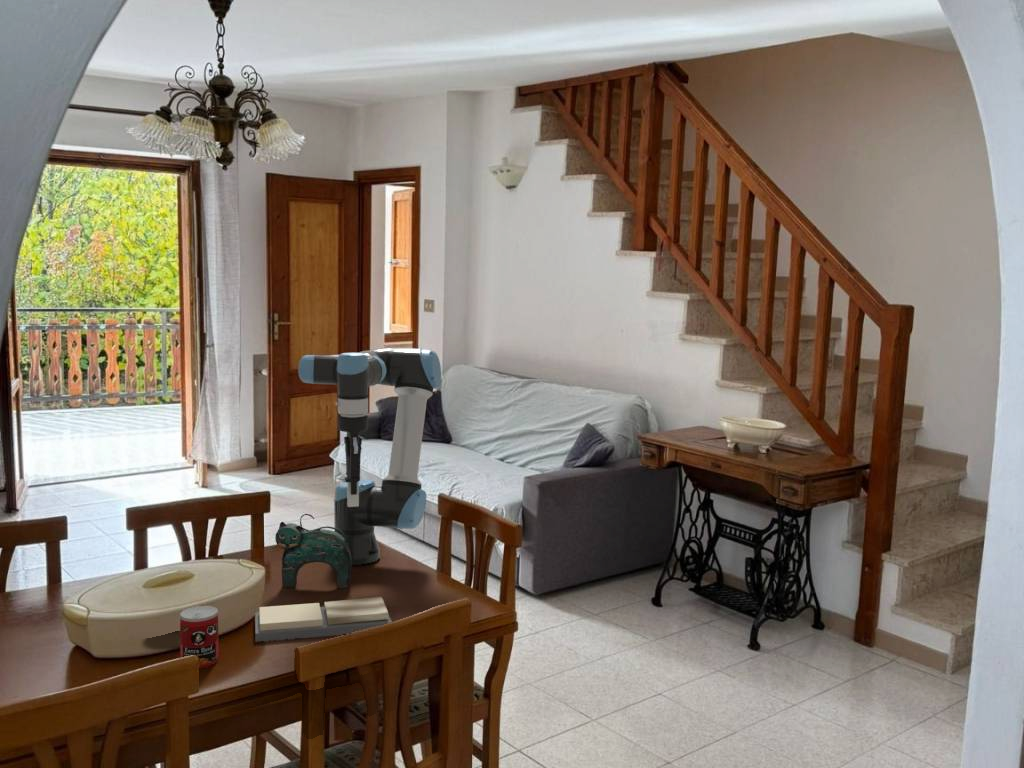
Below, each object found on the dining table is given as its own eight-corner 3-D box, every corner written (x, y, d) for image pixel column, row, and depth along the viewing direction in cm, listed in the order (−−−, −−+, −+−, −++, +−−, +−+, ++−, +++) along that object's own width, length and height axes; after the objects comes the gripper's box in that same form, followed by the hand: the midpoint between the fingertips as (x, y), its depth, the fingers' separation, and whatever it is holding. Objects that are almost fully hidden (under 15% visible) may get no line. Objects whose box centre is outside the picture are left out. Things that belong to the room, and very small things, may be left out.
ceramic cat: (274, 589, 236) (274, 515, 234) (280, 581, 242) (279, 509, 240) (349, 590, 237) (350, 516, 235) (353, 582, 243) (353, 510, 241)
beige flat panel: (324, 608, 217) (324, 601, 217) (381, 603, 221) (381, 596, 221) (328, 624, 207) (328, 618, 207) (388, 619, 211) (388, 612, 210)
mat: (255, 619, 214) (255, 605, 214) (383, 609, 223) (383, 595, 223) (255, 642, 201) (255, 626, 201) (392, 630, 210) (392, 616, 209)
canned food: (179, 671, 185) (178, 620, 184) (182, 655, 193) (181, 606, 192) (217, 667, 187) (217, 617, 186) (219, 652, 195) (218, 604, 194)
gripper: (334, 410, 228) (335, 500, 231) (340, 419, 216) (341, 513, 219) (364, 410, 230) (364, 498, 233) (371, 418, 218) (371, 511, 221)
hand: (353, 505), depth 226 cm, fingers closed
